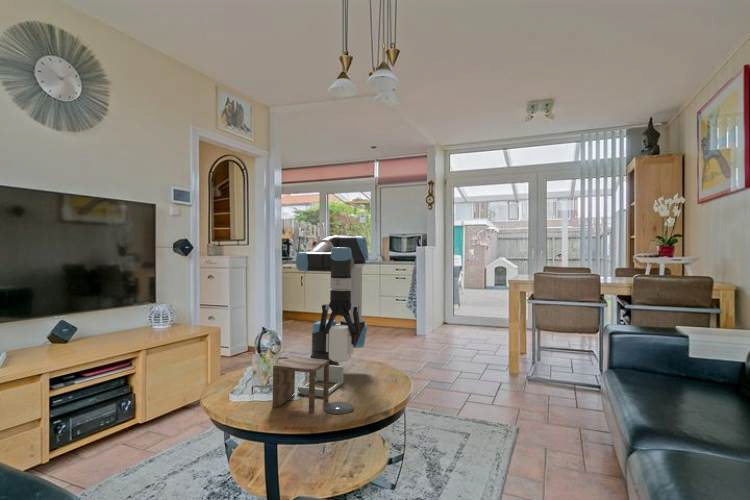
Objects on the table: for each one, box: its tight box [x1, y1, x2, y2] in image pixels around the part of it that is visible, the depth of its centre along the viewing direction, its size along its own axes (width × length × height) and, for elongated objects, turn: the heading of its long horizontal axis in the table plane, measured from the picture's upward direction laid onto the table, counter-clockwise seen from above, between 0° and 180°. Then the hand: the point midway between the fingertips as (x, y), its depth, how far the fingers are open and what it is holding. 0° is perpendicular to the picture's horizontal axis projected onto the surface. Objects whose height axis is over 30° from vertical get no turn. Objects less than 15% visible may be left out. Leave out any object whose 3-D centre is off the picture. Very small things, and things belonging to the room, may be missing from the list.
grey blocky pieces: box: [297, 365, 344, 397], centre depth 172 cm, size 20×12×7 cm, turn 163°
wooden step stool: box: [271, 355, 330, 414], centre depth 155 cm, size 14×16×15 cm
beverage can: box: [329, 325, 352, 363], centre depth 151 cm, size 8×8×12 cm
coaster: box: [323, 401, 355, 415], centre depth 150 cm, size 11×11×1 cm
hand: (339, 352), depth 150 cm, fingers closed on beverage can, 8 cm apart
